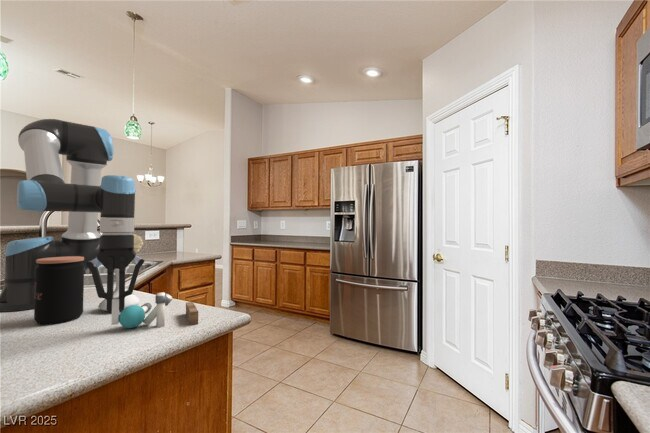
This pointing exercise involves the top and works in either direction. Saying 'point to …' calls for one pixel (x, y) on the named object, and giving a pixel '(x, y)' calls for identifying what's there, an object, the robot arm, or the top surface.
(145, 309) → the left back pin
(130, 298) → the flower in vase
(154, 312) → the front pin
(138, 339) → the top surface
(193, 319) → the back wall
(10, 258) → the robot arm
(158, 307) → the right back pin
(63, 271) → the coffee jar
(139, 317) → the ball
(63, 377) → the top surface
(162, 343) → the top surface
